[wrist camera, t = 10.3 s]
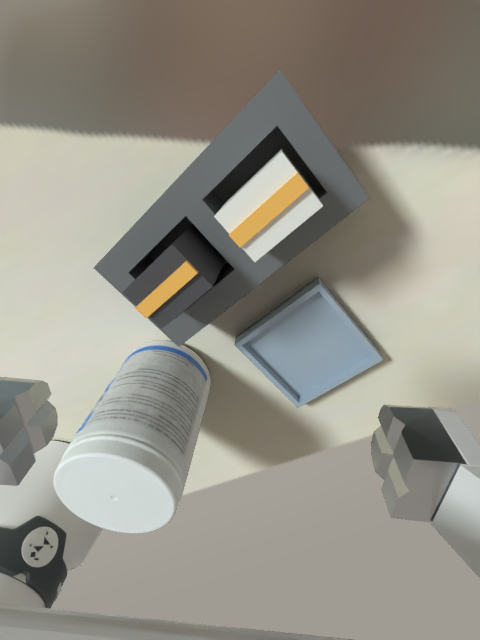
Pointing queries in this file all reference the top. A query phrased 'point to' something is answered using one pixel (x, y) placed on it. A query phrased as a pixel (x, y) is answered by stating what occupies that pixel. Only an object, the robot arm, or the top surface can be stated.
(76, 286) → the top surface
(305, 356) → the slate tray
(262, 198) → the white orange-striped block
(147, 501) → the supplement tub
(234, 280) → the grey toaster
